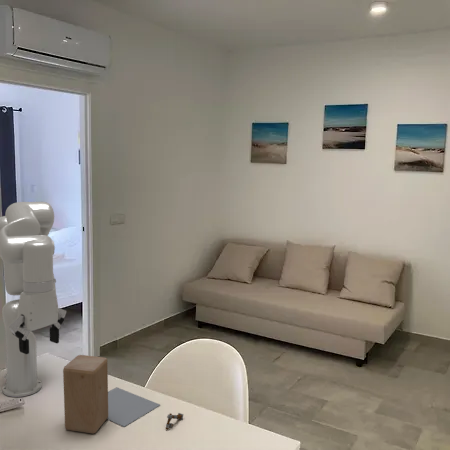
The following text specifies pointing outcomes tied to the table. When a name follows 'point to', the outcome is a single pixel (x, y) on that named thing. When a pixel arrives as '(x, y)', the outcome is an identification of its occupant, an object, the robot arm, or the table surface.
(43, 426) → the table surface
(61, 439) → the table surface
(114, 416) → the mat
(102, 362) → the wooden block
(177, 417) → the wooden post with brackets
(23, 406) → the table surface
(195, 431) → the table surface
